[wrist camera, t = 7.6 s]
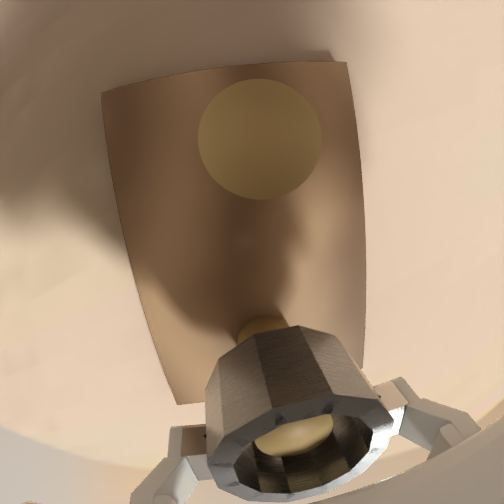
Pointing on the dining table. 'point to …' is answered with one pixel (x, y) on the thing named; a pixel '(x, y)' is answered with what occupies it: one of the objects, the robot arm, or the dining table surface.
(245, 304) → the post board
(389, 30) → the dining table surface
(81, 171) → the dining table surface
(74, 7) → the dining table surface
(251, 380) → the ring
